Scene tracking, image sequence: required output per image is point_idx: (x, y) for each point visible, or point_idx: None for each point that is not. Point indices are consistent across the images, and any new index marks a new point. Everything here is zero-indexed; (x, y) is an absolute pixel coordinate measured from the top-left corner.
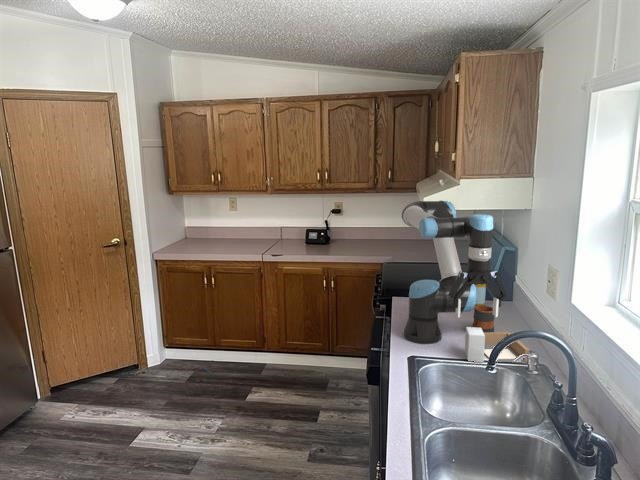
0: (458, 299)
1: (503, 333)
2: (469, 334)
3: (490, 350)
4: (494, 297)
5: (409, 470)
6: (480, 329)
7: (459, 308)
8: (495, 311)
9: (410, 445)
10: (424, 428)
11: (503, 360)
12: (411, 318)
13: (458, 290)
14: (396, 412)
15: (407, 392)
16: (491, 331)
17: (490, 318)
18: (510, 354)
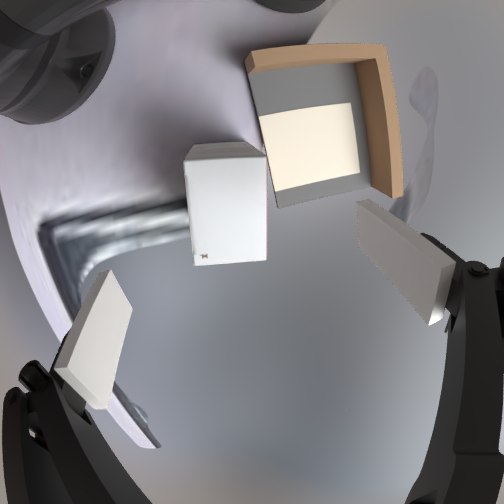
0: (87, 400)
1: (363, 56)
2: (196, 263)
3: (289, 121)
4: (442, 278)
5: (153, 446)
6: (258, 186)
7: (114, 354)
8: (375, 258)
9: (143, 433)
10: (148, 419)
11: (315, 193)
12: None
13: (52, 443)
14: None
15: None
16: (320, 2)
17: None
18: (348, 146)
